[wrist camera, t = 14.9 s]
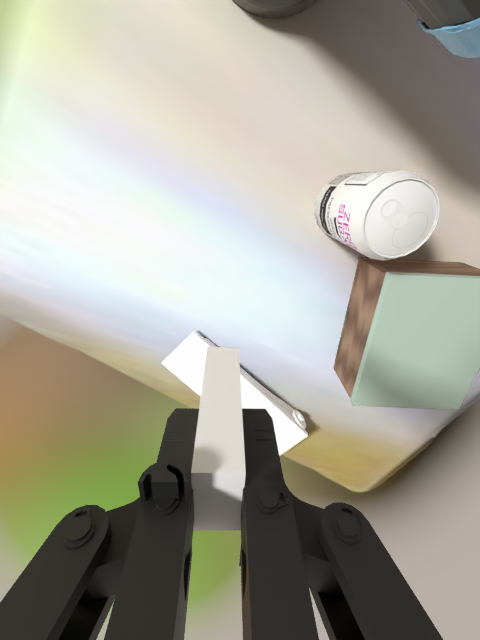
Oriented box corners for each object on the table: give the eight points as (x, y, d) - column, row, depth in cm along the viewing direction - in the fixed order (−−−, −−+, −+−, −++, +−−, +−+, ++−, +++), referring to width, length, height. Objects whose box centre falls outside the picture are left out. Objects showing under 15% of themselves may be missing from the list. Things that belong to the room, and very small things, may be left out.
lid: (386, 271, 36) (390, 274, 34) (515, 277, 36) (523, 281, 35) (350, 400, 45) (352, 405, 43) (453, 404, 45) (458, 409, 44)
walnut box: (359, 258, 43) (385, 273, 36) (464, 262, 44) (510, 278, 37) (333, 368, 52) (350, 398, 45) (421, 369, 53) (452, 399, 45)
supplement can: (384, 201, 40) (464, 212, 26) (340, 248, 42) (392, 280, 29) (345, 159, 37) (411, 147, 24) (301, 211, 40) (338, 227, 26)
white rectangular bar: (174, 343, 55) (273, 430, 61) (156, 367, 49) (268, 461, 55) (206, 315, 50) (310, 412, 56) (190, 338, 44) (309, 445, 50)
